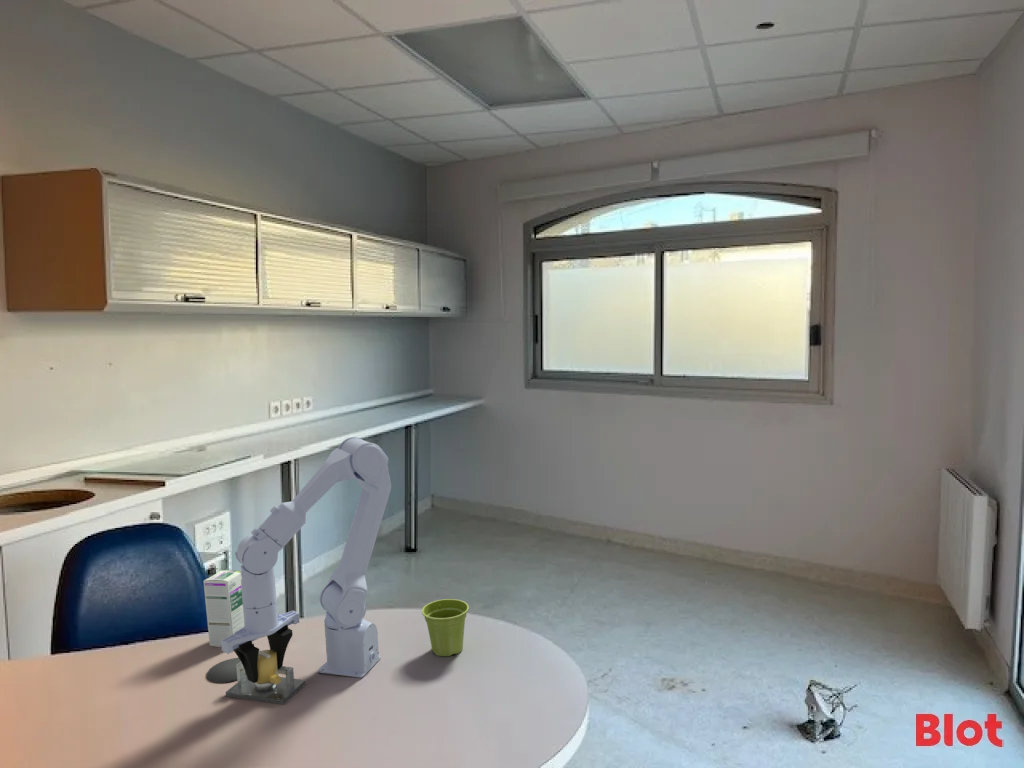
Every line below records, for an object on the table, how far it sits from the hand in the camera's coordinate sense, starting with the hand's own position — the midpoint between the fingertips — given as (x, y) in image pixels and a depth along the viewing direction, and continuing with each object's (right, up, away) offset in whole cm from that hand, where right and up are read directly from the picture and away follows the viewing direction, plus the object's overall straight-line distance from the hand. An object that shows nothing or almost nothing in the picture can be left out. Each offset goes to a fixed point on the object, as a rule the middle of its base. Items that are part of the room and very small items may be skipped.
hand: (265, 674), depth 125 cm
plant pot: (+32, -1, +13) cm, 34 cm away
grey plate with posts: (0, -3, 0) cm, 3 cm away
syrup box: (-15, -2, +20) cm, 25 cm away
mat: (-9, -3, +8) cm, 12 cm away
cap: (0, 0, 0) cm, 0 cm away
